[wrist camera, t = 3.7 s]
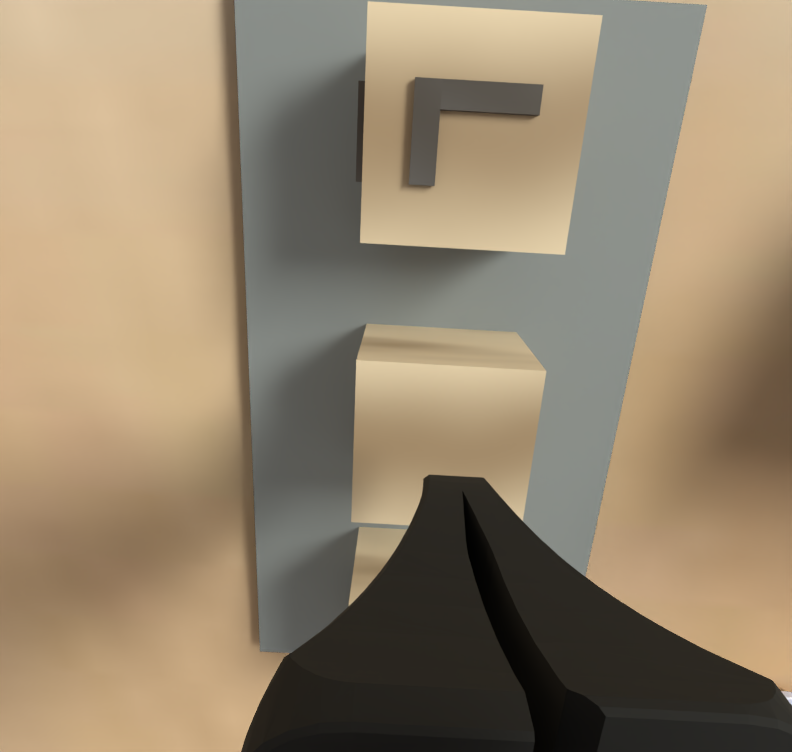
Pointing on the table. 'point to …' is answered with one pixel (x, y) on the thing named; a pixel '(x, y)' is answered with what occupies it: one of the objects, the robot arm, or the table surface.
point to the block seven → (472, 125)
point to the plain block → (441, 415)
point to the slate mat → (431, 281)
